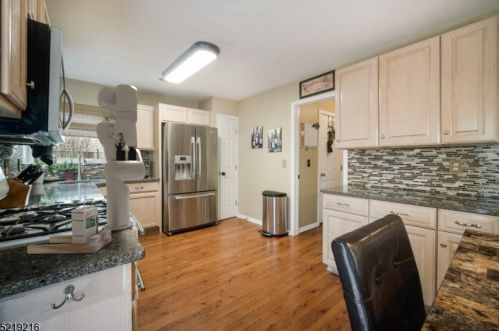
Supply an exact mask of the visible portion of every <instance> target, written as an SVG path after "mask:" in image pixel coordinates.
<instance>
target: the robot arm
mask: <svg viewBox="0 0 499 331" xmlns="http://www.w3.org/2000/svg"><path fill="white" fill-rule="evenodd" d="M96 98H97V99H96V100H97V104H98V107H99V108H100V109H101V110H103V113H104V115H105V117H106V118H108V119H109V120H103V121H101V122H97V124H96V127H95V129H96V136H97V139H98V141H99V143H100V145H101V146H102V147H103V150H104V151H103V152H104V157H105V160H106V163H105V165H104V166H103V171H104V179H105V186H106V223H107V224H106V223H105V225H104V224H103V226H102V229H103V228H104V229H111V231H120V230H125V229H129V228H131V227H133V225H134V222H133V220H131V217H132V216H133V215H132V213H131V212H130V211H131V210H130V209H131V208H130V205H131V204H130V197H131V196H130V195H131V194H130V191H131V190H130V188H129V186H128V185H127V184H126V183H125V181H139V180H143V179H144V178H146V173H147V172H146V171H147V170H146V165H145V163H144V159H143V157H142V153H141V151H140V150H139V149H138V148H137V147H138V133H137V123H138V105H139V104H138V103H139V97H138V90H137V88H136V87H135V86H133V85H130V84H124V83H122V84H117V85H116V86H115V87H111V86H102V87H100V88H99V90H98V93H97V97H96ZM111 120H113V121H111ZM104 229H103V230H104Z"/></svg>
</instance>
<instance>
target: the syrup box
mask: <svg viewBox="0 0 499 331" xmlns="http://www.w3.org/2000/svg"><path fill="white" fill-rule="evenodd" d="M98 210H99V209H98V207H95V206H83V207H80V208H76V209H72V210H71V233H72V234H71V235H72V242H73V243H89V238H91V237H92V236H94V235H96V234H98V233H99V220H98V219H99V217H98V215H99V213H98V212H99V211H98Z"/></svg>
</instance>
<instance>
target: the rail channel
mask: <svg viewBox="0 0 499 331" xmlns="http://www.w3.org/2000/svg"><path fill="white" fill-rule="evenodd" d="M48 238H49V244H30V245H28V246H27V248H26V249H27V252H26V253H27V255H28V254H29V255H31V254H33V255H35V254H38V255H39V254H87V253H88V254H89V253H91V254H92V253H97V252H98V251H99V250H100V249H102V248H103V247H105V246H106V245H108V244H109V243H111V242H112V230H111V229H103V230H102V231H98V234H96V235H94V236H92V237H91V238H89V243H73V242H72V234H69V235H68V234H64V235H63V234H57V235H56V234H55V235H54V234H52V235H50V236H49V237H48Z"/></svg>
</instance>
